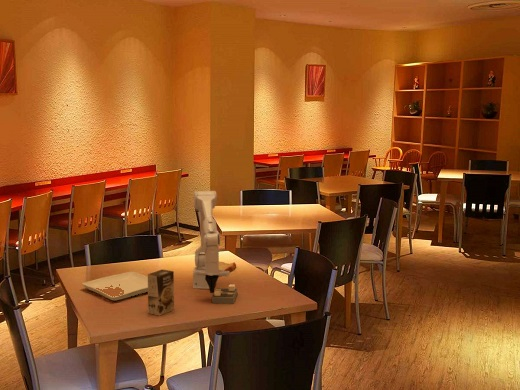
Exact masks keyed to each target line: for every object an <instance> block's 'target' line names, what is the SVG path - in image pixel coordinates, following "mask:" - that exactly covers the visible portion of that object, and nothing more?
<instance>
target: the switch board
mask: <svg viewBox="0 0 520 390" xmlns="http://www.w3.org/2000/svg"><path fill="white" fill-rule="evenodd" d="M216 289H221V295H220V296H214V294H212V297H211V304H222V305H223V304H227V305H228V304H229V305H231V304H232V305H233V304H234V303H235V301H236V299H237V295H238V288H237V287H235V290H234V291H229V287H217V288H216Z"/></svg>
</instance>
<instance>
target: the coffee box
mask: <svg viewBox="0 0 520 390" xmlns="http://www.w3.org/2000/svg"><path fill="white" fill-rule="evenodd" d="M174 272H175V271H174V270H169V269H160V270H157V271H153V272H150V273H147V276H148V292H147V302H148V304H147V308H148V309H147V311H148V314H152V315H155V316H159V317H160V316H162V315H164V314H167V313H169V312H171V311H174V310H175V279H174V278H175V276H174V275H175V274H174Z"/></svg>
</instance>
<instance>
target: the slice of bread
mask: <svg viewBox="0 0 520 390" xmlns="http://www.w3.org/2000/svg"><path fill="white" fill-rule="evenodd" d="M236 267H237V264H236V262H232V263H226V262H224V261H219V270H223V271H229V273H231V272H232V271H234V270H235V268H236ZM221 277H223V276H219V277H218V278H221Z"/></svg>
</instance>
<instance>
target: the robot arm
mask: <svg viewBox="0 0 520 390" xmlns="http://www.w3.org/2000/svg"><path fill="white" fill-rule="evenodd" d="M217 202H218V197H217V191H216V190H201V191H197V190H194V192H193V207H194V209H195V210H197V211H198V213H199V226H200V227H199V228H200V230H199V232H200V246H199V247H197V249H195V251H194V264H195V267H193V271H192V272H193V273H192V282H193V283H192V288H193V289H203V290H204V289H205V290H206V289H208V290H209V292H210V294H214V291H215V289H216V285H217V281H218V279H219V278H220V277H219V276H222V277H227V278H229V277H230V273H231V272H230V273H229V271H223V270H219V262H220V257H219V256H220V255H219V253H220V251H219V249H220V248H219V247H220V245H221V236H220V233H219V230H218V226H217V221H216V219H214V216H213V209H215V207H216V204H217Z"/></svg>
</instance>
